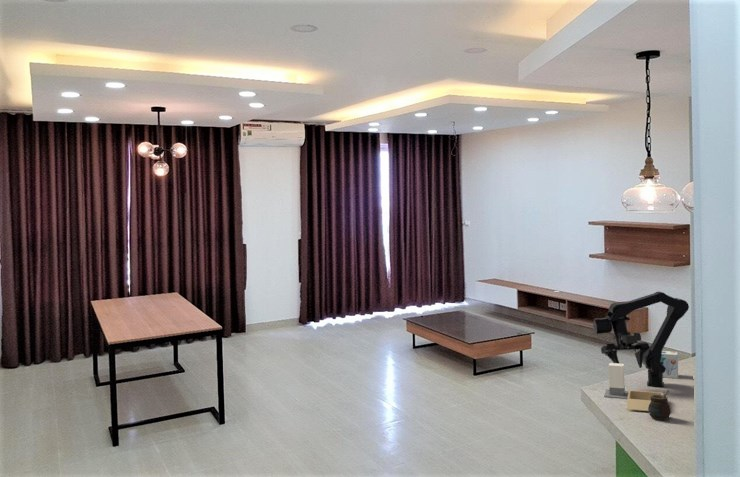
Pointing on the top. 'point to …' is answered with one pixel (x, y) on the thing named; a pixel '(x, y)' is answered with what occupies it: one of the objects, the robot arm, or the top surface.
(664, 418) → the mate gourd
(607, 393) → the mat
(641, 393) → the tan rectangular open frame
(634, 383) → the top surface
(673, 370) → the light bulb box
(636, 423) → the top surface
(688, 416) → the top surface
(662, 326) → the robot arm
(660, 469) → the top surface
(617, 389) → the box
